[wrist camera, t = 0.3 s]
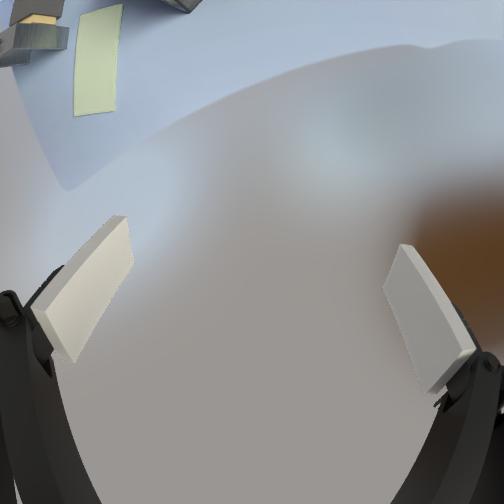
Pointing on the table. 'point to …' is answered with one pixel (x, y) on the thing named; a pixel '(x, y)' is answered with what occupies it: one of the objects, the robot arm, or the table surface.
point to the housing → (29, 41)
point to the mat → (97, 61)
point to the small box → (183, 4)
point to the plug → (36, 11)
